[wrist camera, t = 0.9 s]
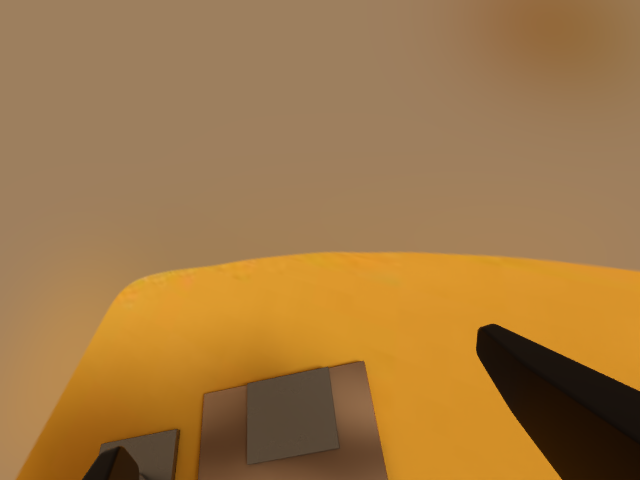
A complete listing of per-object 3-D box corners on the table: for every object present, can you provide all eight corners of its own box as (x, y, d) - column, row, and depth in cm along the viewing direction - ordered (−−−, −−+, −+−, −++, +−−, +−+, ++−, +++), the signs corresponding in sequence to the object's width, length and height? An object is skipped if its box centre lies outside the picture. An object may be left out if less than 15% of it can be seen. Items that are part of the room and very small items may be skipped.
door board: (396, 523, 20) (396, 524, 19) (196, 554, 21) (192, 555, 21) (364, 363, 25) (363, 360, 25) (207, 395, 27) (204, 393, 26)
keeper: (339, 448, 22) (339, 447, 22) (249, 464, 23) (247, 464, 23) (328, 368, 25) (328, 366, 25) (249, 384, 26) (247, 383, 26)
